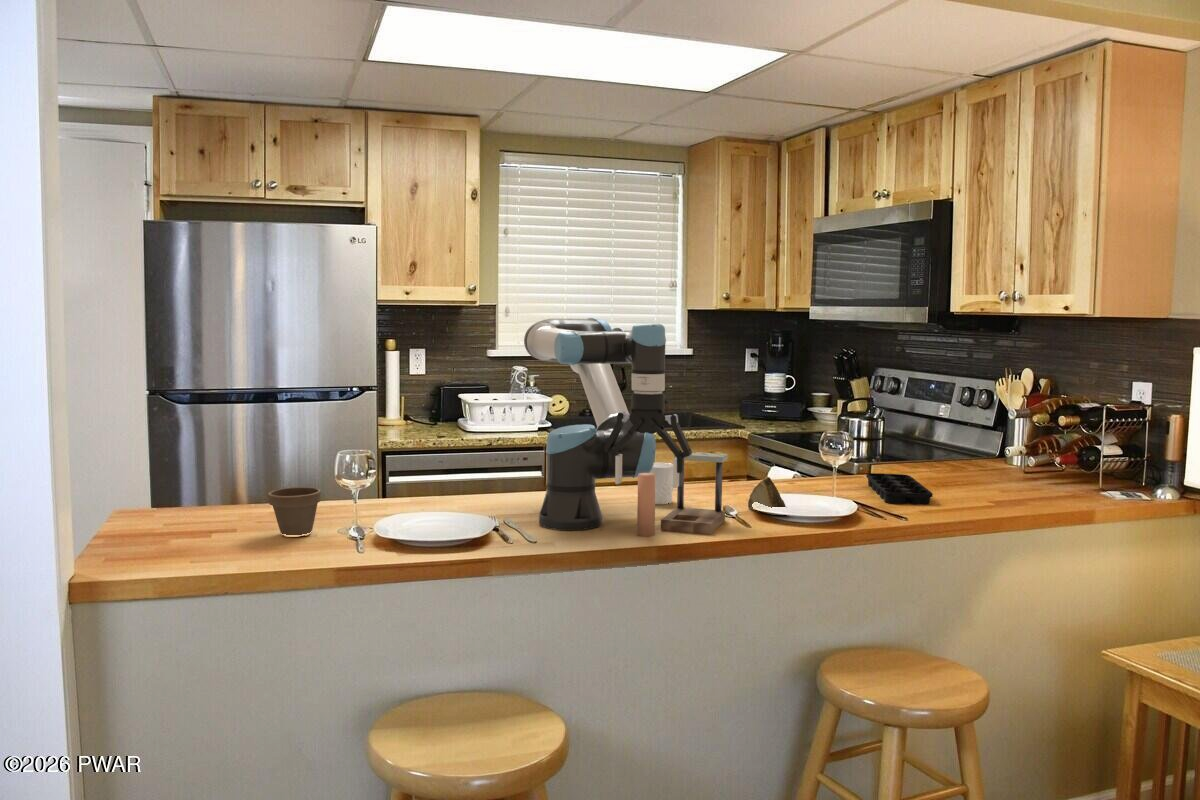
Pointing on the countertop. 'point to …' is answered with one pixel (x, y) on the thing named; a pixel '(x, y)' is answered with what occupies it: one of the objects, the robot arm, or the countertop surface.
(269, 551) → the countertop surface
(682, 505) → the two-post gate frame
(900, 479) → the egg carton
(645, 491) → the peg
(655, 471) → the white cup
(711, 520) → the socket board
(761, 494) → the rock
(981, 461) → the countertop surface
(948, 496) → the countertop surface
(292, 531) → the flower pot
